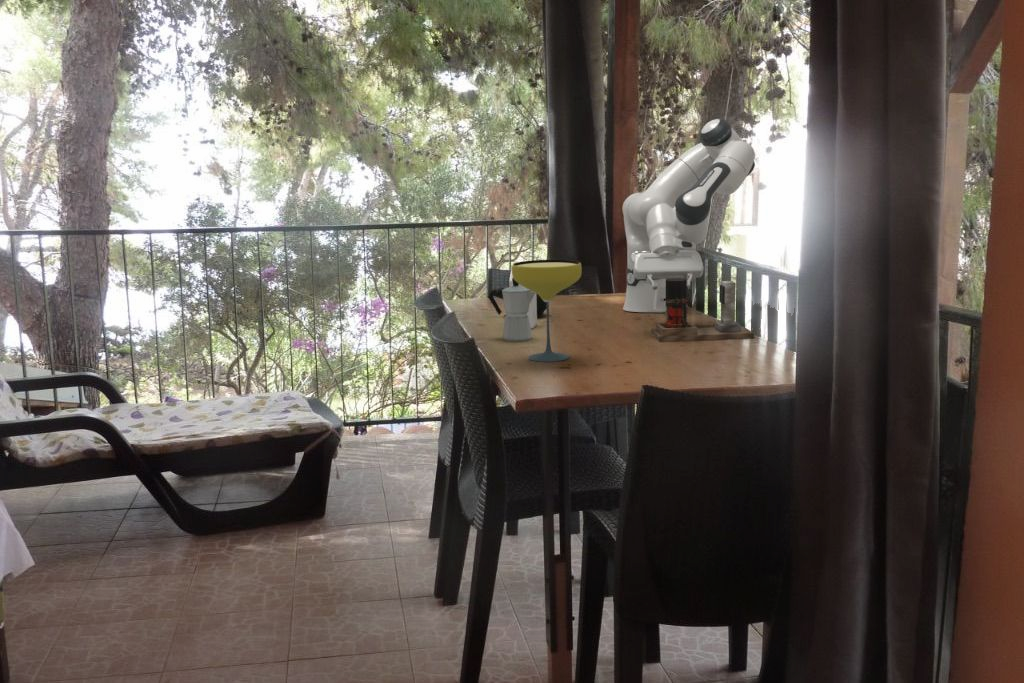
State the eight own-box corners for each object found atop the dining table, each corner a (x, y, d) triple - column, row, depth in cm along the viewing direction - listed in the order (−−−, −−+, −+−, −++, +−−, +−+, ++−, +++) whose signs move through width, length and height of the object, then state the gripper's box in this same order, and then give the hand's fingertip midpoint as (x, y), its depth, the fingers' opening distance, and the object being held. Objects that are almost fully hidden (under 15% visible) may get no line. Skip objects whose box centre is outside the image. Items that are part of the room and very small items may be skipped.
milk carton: (533, 329, 297) (531, 267, 294) (510, 328, 299) (508, 267, 295) (537, 325, 304) (535, 264, 301) (515, 324, 306) (513, 265, 302)
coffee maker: (542, 336, 285) (541, 275, 281) (533, 342, 277) (531, 279, 273) (495, 334, 290) (493, 275, 286) (484, 340, 281) (482, 279, 278)
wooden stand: (658, 341, 272) (658, 287, 269) (651, 334, 283) (651, 282, 280) (753, 338, 273) (754, 283, 270) (743, 331, 284) (743, 278, 281)
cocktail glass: (587, 363, 247) (586, 265, 242) (517, 366, 245) (514, 268, 241) (577, 349, 264) (576, 258, 260) (511, 352, 263) (509, 260, 258)
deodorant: (661, 331, 278) (661, 279, 276) (678, 329, 281) (679, 277, 278) (673, 334, 273) (673, 281, 270) (690, 332, 276) (691, 279, 273)
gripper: (631, 244, 283) (636, 282, 275) (700, 243, 284) (707, 280, 276) (629, 258, 288) (633, 295, 281) (697, 256, 289) (704, 293, 281)
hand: (671, 288), depth 278 cm, fingers open, 8 cm apart
